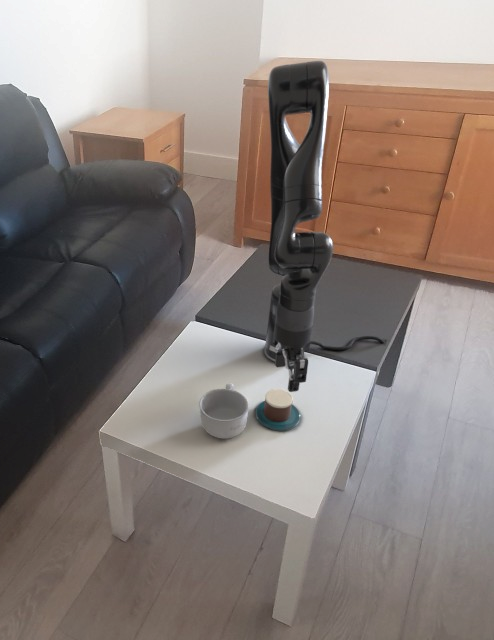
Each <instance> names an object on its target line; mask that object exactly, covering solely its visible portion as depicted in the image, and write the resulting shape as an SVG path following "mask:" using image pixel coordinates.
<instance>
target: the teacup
mask: <svg viewBox="0 0 494 640" xmlns="http://www.w3.org/2000/svg"><path fill="white" fill-rule="evenodd" d="M198 403H199V404H198V405H199V410H200V411H199V414H200V415H199V417H200V422H201V425H202V427H203V429H204V430H205V431H206V432H207V434H209V435H210V436H212V437H215V438H217V439H232V438H235V437H237V436H239V435H241V433H242V432H243V431H244V430H245V428H246V426H247V422H248V415H249V414H248V413H249V412H248V411H249V401H248V399H247V398H246V397H245V396H244V395H243V394H242V393H241V392H238V391H237V390H234V384H233V383H230V382H228V383H226V385H225V388H216V389H212V390H209V391H207V392H206V393H204V394H203V395H202V396H201V398H200V399H199V402H198Z"/></svg>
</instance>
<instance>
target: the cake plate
mask: <svg viewBox="0 0 494 640" xmlns="http://www.w3.org/2000/svg"><path fill="white" fill-rule="evenodd" d="M264 404H265V400H264V401H262V402H260V403H259V404H258V405H257V407H256V408H255V417H256V420H257V421H258V422H259V423H260V424H261V425H262V426H263V427H265V428H267V429H270V430H272V431H278V432H285V431H291V430H292V429H295V428H296V427H297V426H298V424H299V423H300V421H301V413H300V411H299V409H298V408H297V407H296V406H295V405H294V404H292V406H291V412H290V417H289V419H288V420H286V421H284V422H274V421H271V420H269V419H267V418H266V417H265V415H264Z"/></svg>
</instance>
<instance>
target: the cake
mask: <svg viewBox="0 0 494 640" xmlns="http://www.w3.org/2000/svg"><path fill="white" fill-rule="evenodd" d="M264 396H265V397H264V401H265V404H264V415H265V417H266V418H267V419H269V420H271V421H274V422H284V421H286V420H288V419H289V417H290V412H291V406H292V405H293V396H292V394H291V393H290V392H289V391H287V390H284V389H281V388H273V389H270V390H268V391H267V392H266V394H265V395H264Z"/></svg>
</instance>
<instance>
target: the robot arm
mask: <svg viewBox="0 0 494 640" xmlns="http://www.w3.org/2000/svg"><path fill="white" fill-rule="evenodd" d="M329 75H330V74H329V69H328V66H327V64H326V63H325V61H323V60H312V61H305V62H296V63H290V64H289V63H288V64H282V65H277V66H274V67H273V68H272V69H271V70H270V71H269V75H268V78H267V79H268V81H267V103H268V116H269V117H268V118H269V132H270V177H269V178H270V179H269V180H270V181H269V183H270V184H269V185H270V186H269V187H270V188H269V189H270V217H271V218H270V233H269V234H270V235H269V242H268V243H269V244H268V255H267V261H268V262H267V263H268V268H269V270H270V271H271V272H272V273H274V274H276V275H278V276H281V277H282V278H281V280H280V282H278V283H276V284H275V285H274V286H273V287H272V290H271V295H270V303H269V312H268V321H267V329H266V337H265V345H264V355H265V357H266V358H267V359H268V360H270V361H271V362H274V365H275V368H284V367H285V369H286V370H288V376H289V377H288V383H287V390H288V391H287V392H288V393H294V392H295V393H296V392H299V389H300V384H301V383H307V376H308V369H309V368H308V366H309V360H308V359H309V358H307V357H306V358H305V357H304V356H305V353H306V352H310V347H311V345H316V346H318V347H320V348H322V349H325V350H329V351H346V350H348V349H350V348H351V347H352V346H353V345H354V343H356V342H358V341H363V340H374V341H378V342H379V343H381V344H386V342H385V340H384V339H383V338H381V337H380V336H379V337H378V336H375V335H363V336H357V337H354V338H352V339H351V340H350V341H349V343H348V344H347V345H345V346H331V345H325V344H323V343H322V342H320V341H317V340H311V337H312V331H313V324H314V319H315V304H316V297H317V290H318V288H319V285H320V282H321V280H322V278H323V276H324V274H325V272H326V271H327V269H328V267H329V265H330V263H331V260H332V258H333V255H334V243H333V240H332V238H331V236H330V235H329V234H328V233H326V232H323V231H305V232H296V227H297V226H298V225H300V224H301V223H305V222H308V221H313V220H316V219H318V218H320V216H321V215H322V214H323V213H322V212H323V181H322V180H323V179H322V177H323V159H324V150H325V144H326V143H325V142H326V132H327V122H328V110H329V109H328V108H329V95H330V78H329V77H330V76H329ZM307 113H308V114H310V115H309V116H310V118H309V123H308V128H307V131H306V133H305V135H304V137H303V139H302V141H301V143H299V142H298V139H296V137H295V135H294V133H293V132H292V130H291V127H290V126H289V124H288V120H287V118H286V116H290V115H299V114H300V115H301V114H307Z"/></svg>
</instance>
